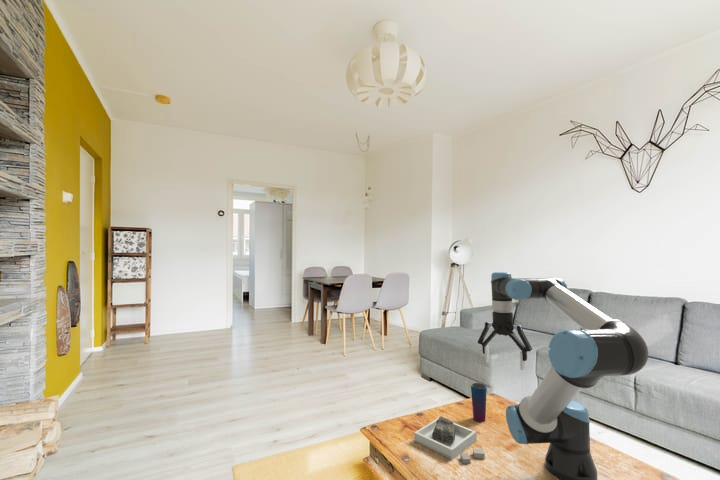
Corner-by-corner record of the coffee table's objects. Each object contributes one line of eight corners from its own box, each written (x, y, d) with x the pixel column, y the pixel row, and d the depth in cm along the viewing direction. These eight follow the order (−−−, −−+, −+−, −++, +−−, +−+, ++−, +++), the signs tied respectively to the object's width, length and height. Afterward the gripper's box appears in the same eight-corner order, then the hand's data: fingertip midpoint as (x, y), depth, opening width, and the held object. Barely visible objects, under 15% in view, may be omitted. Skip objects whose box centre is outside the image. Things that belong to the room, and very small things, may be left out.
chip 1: (470, 464, 121) (470, 458, 121) (463, 464, 121) (463, 459, 121) (467, 458, 124) (467, 453, 124) (460, 458, 124) (460, 453, 124)
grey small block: (482, 454, 127) (482, 449, 127) (484, 459, 124) (484, 453, 124) (472, 454, 127) (472, 448, 127) (474, 458, 124) (474, 453, 124)
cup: (471, 422, 151) (470, 387, 151) (471, 415, 157) (470, 381, 158) (488, 424, 149) (487, 389, 149) (487, 416, 155) (486, 383, 156)
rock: (453, 447, 129) (453, 430, 129) (430, 444, 132) (430, 427, 132) (455, 430, 142) (455, 414, 142) (434, 427, 144) (434, 412, 145)
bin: (476, 440, 136) (476, 431, 136) (452, 460, 123) (452, 450, 123) (439, 425, 148) (439, 417, 148) (414, 441, 135) (414, 432, 136)
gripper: (539, 312, 131) (541, 369, 129) (476, 307, 147) (477, 357, 146) (533, 315, 125) (536, 374, 124) (468, 309, 142) (470, 361, 140)
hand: (504, 365), depth 135 cm, fingers open, 13 cm apart
